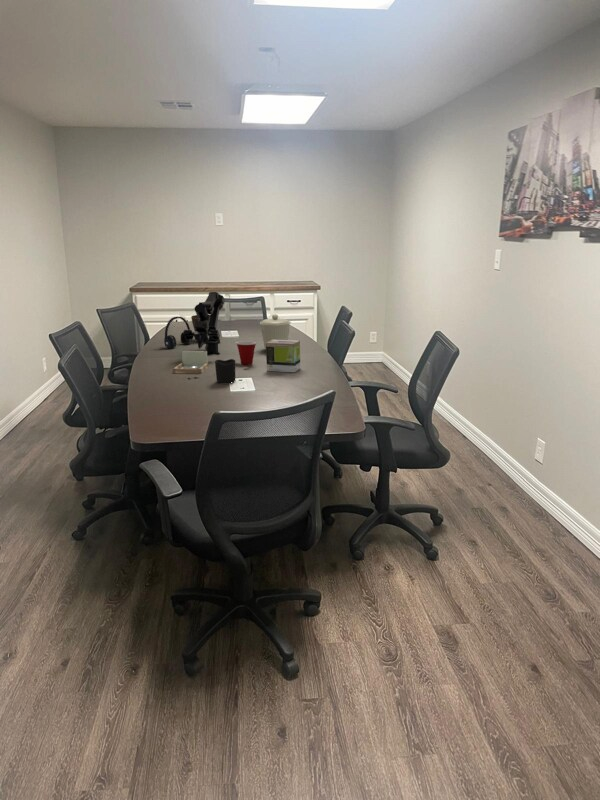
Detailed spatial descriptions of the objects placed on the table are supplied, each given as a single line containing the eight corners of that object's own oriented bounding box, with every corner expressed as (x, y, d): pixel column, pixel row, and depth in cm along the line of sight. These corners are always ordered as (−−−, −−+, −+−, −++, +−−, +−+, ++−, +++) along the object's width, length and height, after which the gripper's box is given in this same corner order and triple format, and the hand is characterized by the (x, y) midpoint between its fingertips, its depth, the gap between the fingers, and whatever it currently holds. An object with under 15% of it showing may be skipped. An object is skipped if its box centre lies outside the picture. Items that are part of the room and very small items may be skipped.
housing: (181, 368, 284) (181, 362, 283) (208, 369, 282) (208, 362, 281) (173, 375, 271) (173, 369, 270) (201, 375, 269) (200, 369, 268)
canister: (286, 346, 336) (285, 311, 329) (295, 351, 319) (294, 315, 313) (257, 348, 330) (256, 313, 324) (265, 354, 314) (263, 317, 307)
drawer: (183, 367, 285) (182, 351, 282) (208, 367, 283) (207, 351, 281) (175, 374, 272) (173, 356, 269) (200, 374, 270) (199, 357, 268)
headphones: (171, 349, 329) (168, 319, 323) (162, 348, 332) (160, 318, 327) (194, 344, 345) (192, 315, 340) (186, 343, 349) (184, 314, 343)
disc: (195, 366, 282) (194, 363, 281) (202, 369, 276) (202, 366, 275) (180, 369, 277) (180, 366, 277) (187, 372, 271) (187, 369, 271)
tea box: (300, 368, 281) (300, 340, 277) (294, 373, 272) (293, 343, 268) (273, 366, 286) (272, 338, 281) (266, 371, 277) (265, 342, 272)
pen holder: (227, 385, 252) (226, 364, 249) (211, 382, 257) (210, 361, 254) (240, 380, 260) (239, 360, 257) (224, 378, 265) (223, 357, 262)
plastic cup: (260, 362, 294) (260, 340, 290) (250, 367, 285) (250, 344, 281) (243, 361, 298) (242, 339, 295) (233, 365, 289) (231, 343, 285)
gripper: (182, 314, 291) (178, 339, 283) (217, 314, 289) (213, 339, 282) (188, 326, 300) (183, 351, 293) (221, 326, 299) (217, 351, 292)
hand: (199, 348), depth 290 cm, fingers closed
